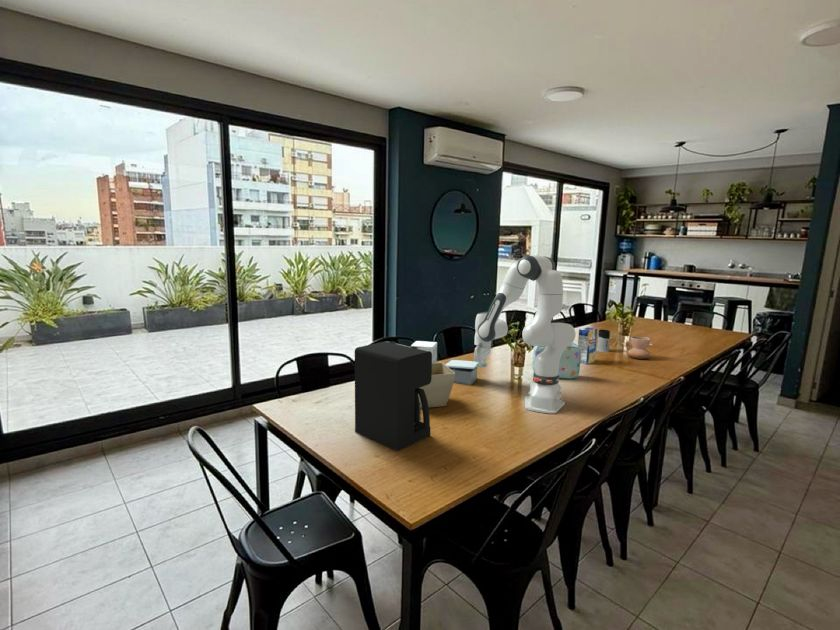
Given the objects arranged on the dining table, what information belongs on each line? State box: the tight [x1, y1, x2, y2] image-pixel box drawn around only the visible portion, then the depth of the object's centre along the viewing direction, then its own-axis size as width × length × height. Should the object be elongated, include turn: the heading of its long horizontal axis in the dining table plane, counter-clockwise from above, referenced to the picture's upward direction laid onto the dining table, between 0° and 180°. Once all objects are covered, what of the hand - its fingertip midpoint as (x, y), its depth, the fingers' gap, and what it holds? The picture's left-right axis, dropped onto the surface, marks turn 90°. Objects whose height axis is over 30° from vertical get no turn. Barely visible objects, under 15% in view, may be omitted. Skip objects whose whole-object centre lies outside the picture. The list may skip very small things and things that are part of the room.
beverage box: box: [577, 326, 598, 365], centre depth 288 cm, size 7×11×22 cm, turn 131°
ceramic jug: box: [625, 335, 653, 360], centre depth 303 cm, size 18×14×14 cm
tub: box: [448, 367, 479, 386], centre depth 247 cm, size 12×16×7 cm
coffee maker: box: [353, 341, 432, 452], centre depth 172 cm, size 28×20×35 cm
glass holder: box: [595, 329, 618, 353], centre depth 319 cm, size 9×14×15 cm, turn 40°
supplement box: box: [410, 340, 438, 363], centre depth 259 cm, size 13×13×18 cm
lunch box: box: [532, 341, 581, 380], centre depth 255 cm, size 27×10×21 cm, turn 84°
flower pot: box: [418, 362, 455, 409], centre depth 210 cm, size 19×19×17 cm
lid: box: [444, 359, 488, 369], centre depth 244 cm, size 13×22×2 cm, turn 67°
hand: (481, 366), depth 241 cm, fingers closed on lid, 3 cm apart
